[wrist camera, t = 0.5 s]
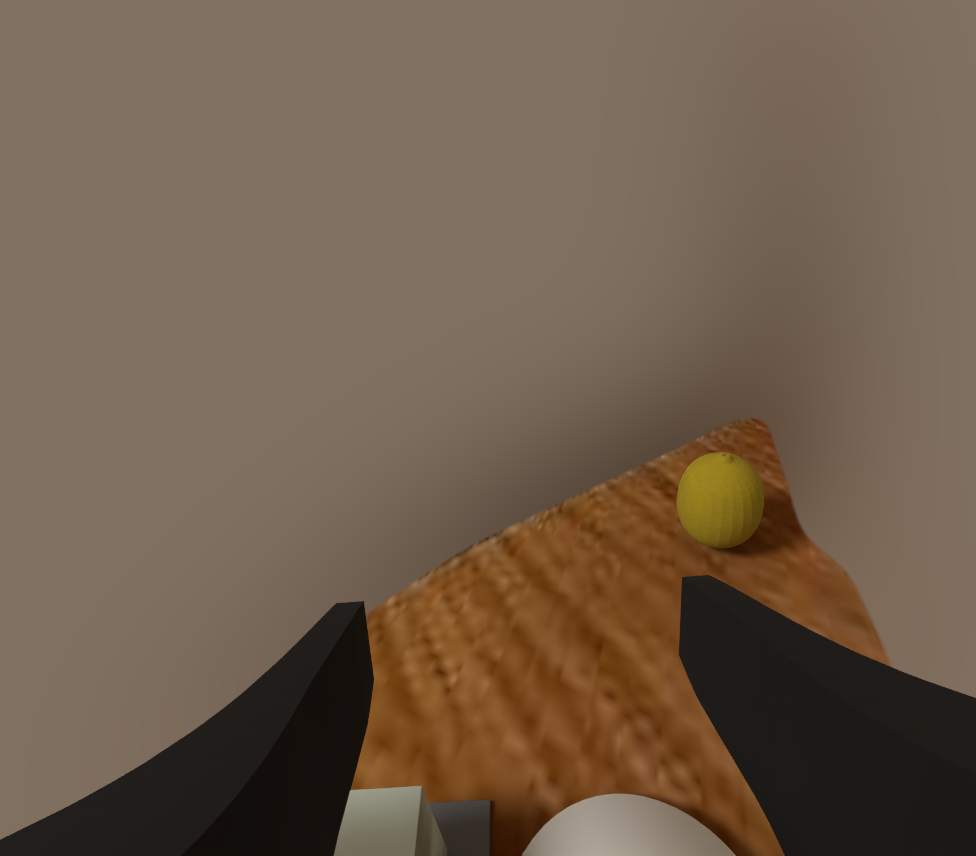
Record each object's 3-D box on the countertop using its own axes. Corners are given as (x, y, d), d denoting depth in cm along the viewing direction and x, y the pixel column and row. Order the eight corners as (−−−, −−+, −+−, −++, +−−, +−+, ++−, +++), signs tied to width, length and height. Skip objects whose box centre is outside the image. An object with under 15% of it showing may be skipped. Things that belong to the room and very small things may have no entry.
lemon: (675, 515, 42) (680, 429, 38) (753, 523, 40) (767, 434, 36) (673, 566, 38) (678, 476, 34) (759, 578, 36) (776, 484, 32)
